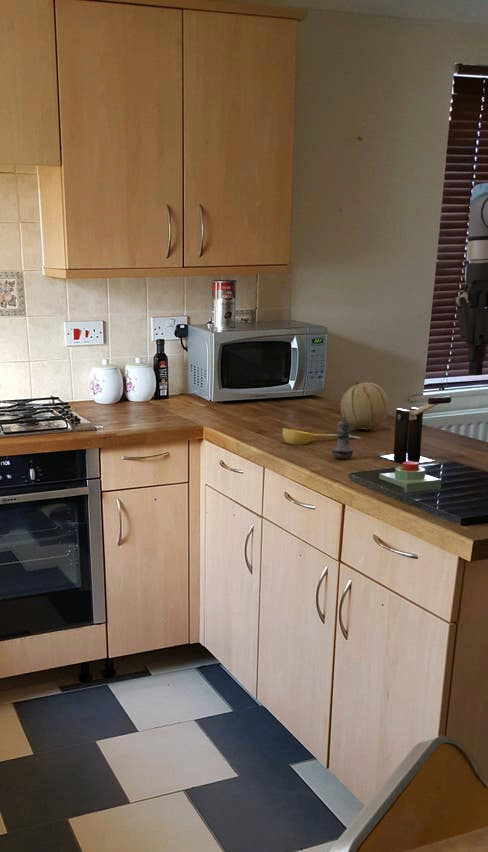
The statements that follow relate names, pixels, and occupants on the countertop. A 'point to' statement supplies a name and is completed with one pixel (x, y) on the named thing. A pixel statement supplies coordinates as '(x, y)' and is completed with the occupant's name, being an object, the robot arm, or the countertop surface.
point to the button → (410, 466)
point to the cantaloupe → (365, 405)
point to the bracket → (407, 439)
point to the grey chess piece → (343, 441)
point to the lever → (428, 406)
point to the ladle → (302, 436)
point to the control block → (411, 480)
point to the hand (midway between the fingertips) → (475, 374)
